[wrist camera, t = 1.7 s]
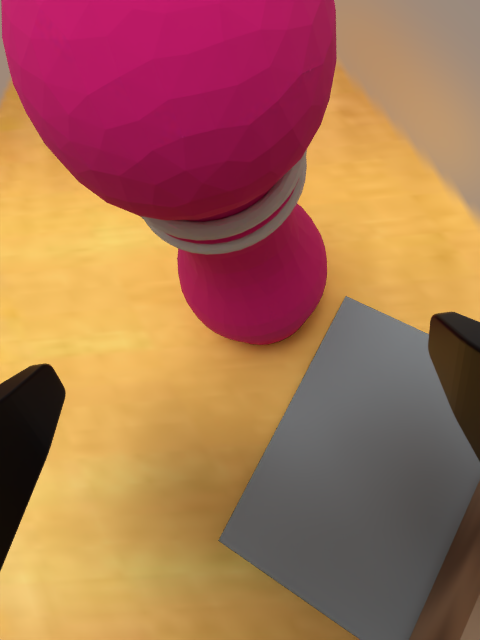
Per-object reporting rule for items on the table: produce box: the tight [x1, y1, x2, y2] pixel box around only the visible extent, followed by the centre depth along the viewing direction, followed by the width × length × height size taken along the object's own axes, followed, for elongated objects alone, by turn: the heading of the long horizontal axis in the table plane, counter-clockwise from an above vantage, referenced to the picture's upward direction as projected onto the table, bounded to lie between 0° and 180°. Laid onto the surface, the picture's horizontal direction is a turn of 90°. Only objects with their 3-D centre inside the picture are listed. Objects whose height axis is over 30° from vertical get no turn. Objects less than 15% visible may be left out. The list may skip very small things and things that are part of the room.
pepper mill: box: [1, 0, 336, 345], centre depth 13 cm, size 7×7×20 cm
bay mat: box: [218, 296, 480, 640], centre depth 19 cm, size 15×11×1 cm
